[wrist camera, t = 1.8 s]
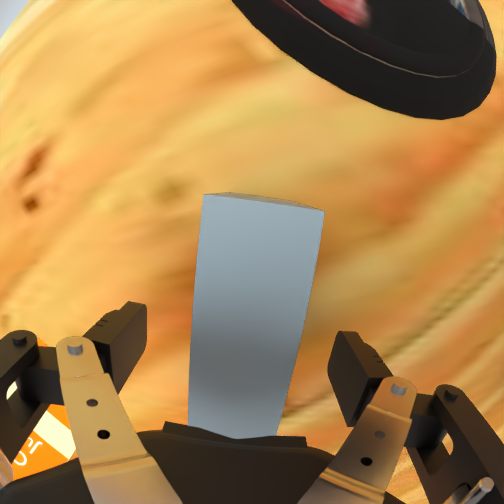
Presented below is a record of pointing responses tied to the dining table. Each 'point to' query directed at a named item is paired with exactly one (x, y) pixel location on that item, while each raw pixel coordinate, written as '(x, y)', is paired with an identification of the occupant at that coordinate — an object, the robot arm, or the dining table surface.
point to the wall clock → (389, 49)
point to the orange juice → (44, 441)
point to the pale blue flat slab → (249, 310)
